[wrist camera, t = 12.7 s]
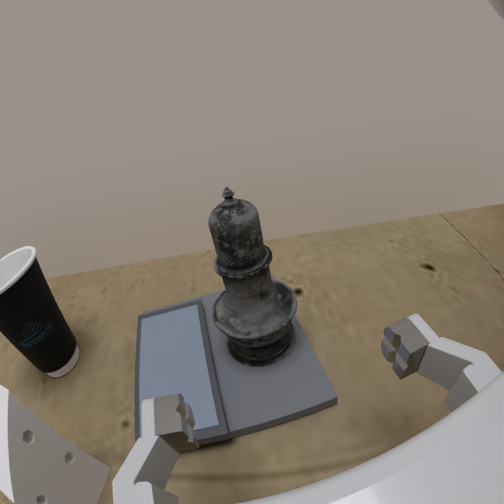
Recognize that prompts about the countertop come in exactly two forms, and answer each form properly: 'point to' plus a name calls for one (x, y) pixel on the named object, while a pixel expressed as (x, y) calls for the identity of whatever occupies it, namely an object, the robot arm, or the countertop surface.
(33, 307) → the dixie cup
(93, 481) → the white angled block
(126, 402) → the countertop surface
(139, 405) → the phone
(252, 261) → the stone finial ornament
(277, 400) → the mat
